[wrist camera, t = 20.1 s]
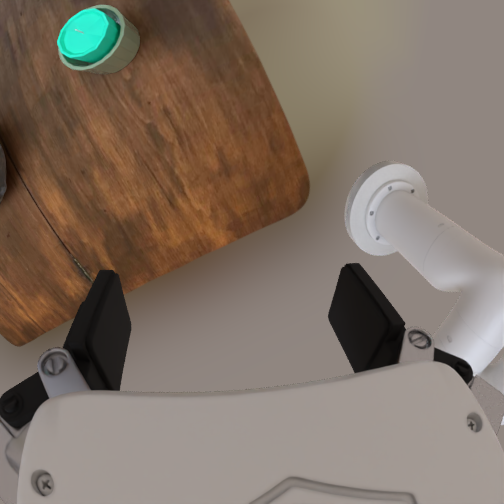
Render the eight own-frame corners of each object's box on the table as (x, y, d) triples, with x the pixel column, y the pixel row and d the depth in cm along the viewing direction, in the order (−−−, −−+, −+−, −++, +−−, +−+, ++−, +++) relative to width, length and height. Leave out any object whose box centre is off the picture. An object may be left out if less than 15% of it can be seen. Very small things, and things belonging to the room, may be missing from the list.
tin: (142, 16, 25) (128, -2, 18) (137, 70, 29) (121, 63, 22) (86, 27, 23) (62, 15, 17) (82, 79, 28) (56, 76, 21)
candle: (93, 72, 27) (51, 65, 17) (91, 35, 24) (51, 17, 14) (133, 60, 28) (103, 44, 18) (131, 23, 25) (103, -4, 14)
